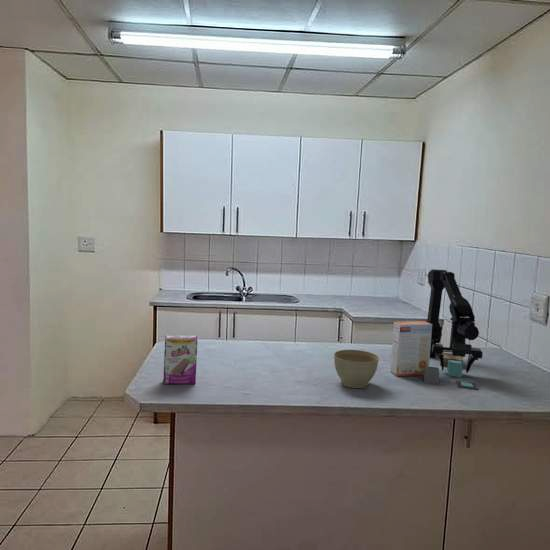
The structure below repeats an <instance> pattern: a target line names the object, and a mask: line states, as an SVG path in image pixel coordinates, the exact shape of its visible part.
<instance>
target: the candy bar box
mask: <svg viewBox="0 0 550 550" xmlns="http://www.w3.org/2000/svg"><path fill="white" fill-rule="evenodd" d="M197 355H198V336H197V335H176V334H175V335H172V334H171V335H170V334H169V335H165V336H164V355H163V357H164V358H163V385H195V384H196V380H197V379H196V376H197V360H198V359H197Z"/></svg>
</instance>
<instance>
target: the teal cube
mask: <svg viewBox="0 0 550 550" xmlns="http://www.w3.org/2000/svg"><path fill="white" fill-rule="evenodd" d="M446 369H447V371H446V372H447V374H448V376H450V377H460V378H462V377H463V369H464V363H463V364H462V362H461V361H453V360H448V367H447V368H446Z"/></svg>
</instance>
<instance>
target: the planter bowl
mask: <svg viewBox="0 0 550 550" xmlns="http://www.w3.org/2000/svg"><path fill="white" fill-rule="evenodd" d="M333 357H334V358H333V359H334V367H335V372H336V373H337V376H338V378H339V379H340V381H341V382H340V383H341V385H343V386H345V387H347V388H350V389H351V388H353V389H363V388H366V387H368V385H369V382H370V381H371V380H372V379H373V377H374V376H375V374H376V372H377V370H378V369H377V368H378V364H379V359H380V357H379V355H377V353H374V352H370V351H367V350H361V349H341V350H337V351H335V352H334V353H333Z"/></svg>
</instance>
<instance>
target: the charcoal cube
mask: <svg viewBox="0 0 550 550" xmlns="http://www.w3.org/2000/svg"><path fill="white" fill-rule="evenodd" d="M439 380H440V369H439V367H436V366H435V367H434V366H429V367H428V366H425V369H424V375H423V381H424V383H426V384H433V385H439Z"/></svg>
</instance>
